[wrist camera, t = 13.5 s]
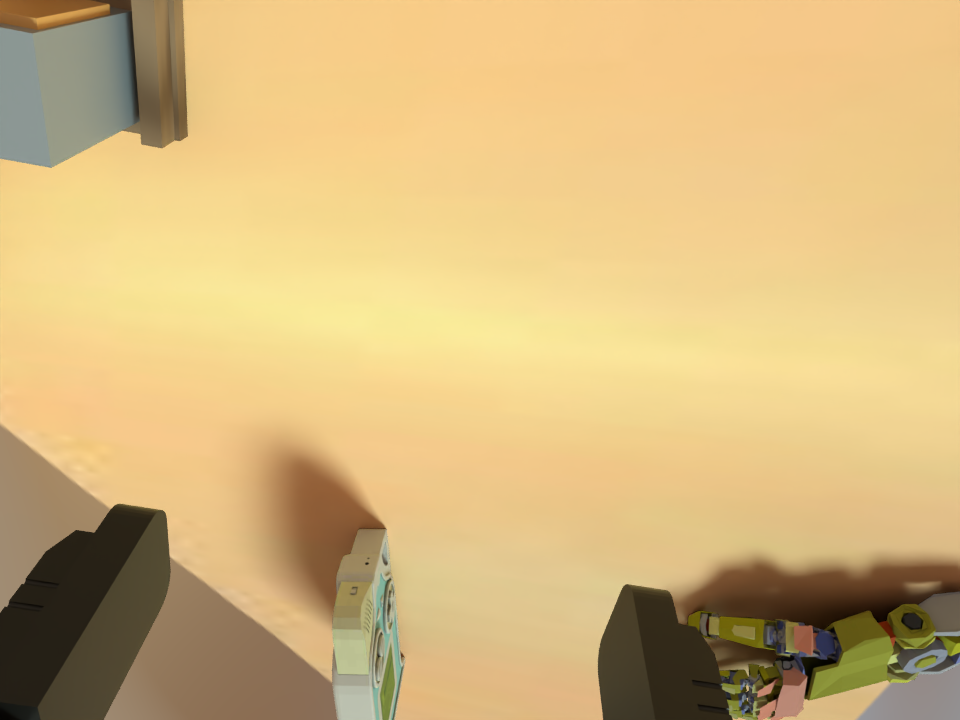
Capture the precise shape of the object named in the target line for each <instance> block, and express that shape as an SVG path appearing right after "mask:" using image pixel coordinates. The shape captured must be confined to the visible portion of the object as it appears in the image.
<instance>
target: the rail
mask: <svg viewBox="0 0 960 720" xmlns="http://www.w3.org/2000/svg"><path fill="white" fill-rule="evenodd" d="M91 1H96V2H101V3H107V4H109V5H110V7H115V8H120V9H125V10H130V11H132V20H133V34H134V48H135V62H136V76H137V90H138V103H139V117H140V121H139V122H137V123H135V124H134V125H132V126H130V127H128V128H126V129H124V130H122V131H127V132H133V133H138V134H141V144H142V145H148V146H153V147H158V148H163V147H165V146H167V145H168V144H170V143H171V142H173V141H174V140H176V141H181V140H182V139H184V138H186V137H187V136H188V132H187V106H186V79H185V53H184V27H183V1H182V0H91Z"/></svg>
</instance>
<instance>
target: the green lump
mask: <svg viewBox="0 0 960 720" xmlns="http://www.w3.org/2000/svg"><path fill="white" fill-rule="evenodd" d="M712 613H713V614H712ZM711 615H712V617H711ZM688 626H695V627H696V628H697V629H698V631H699V632H700V634H701V635H702V637H705V638H709V639H716V635H719V638H723V639H726V640H730V641H734V642H737V643H741V644H745V645H748V646H752V647H756V648H765V649H771V650H775V651H776V655H781V656H782V657H780V658H777V659H776V660H775V662H774V663H773V666H772V667H768V668H764V666H760V667H759V665H754V664H749V677H748V676H747V674H746V672H745V670H723V671H719V672H720V676H721V680H722V683H723V685H722V689H723V690H725V694H726V698H727V701H728V705H729V715H731V716H732V717H733V718H735V719H738V718H737V717H740V718H743V719H746V720H762V719H765V718H767V719H771V720H780V719H782V718H783V717H789V716H794V717H796V716H797V715H798V714H799V713H800V712H801V711H802V710H803V709H804V708H803V702H804V699H807V700H813V699H817V698H821V697H825V696H829V695H833V694H837V693H841V692H845V691H849V690H852V689H856V688H860V687H864V686H867V685H871V684H875V683H879V682H882V681H886V680H888V681H889V682H902V683H905V682H906V683H907V682H909V681H910V680H915V678H916V677H917V675H918V674H942V673H943V672H945V671H947V670H949V669H951V668H953V667H955V666H957V665H959V664H960V592H950V593H941V594H933V595H932V596H930V597H929V598H927V599H926V600H924V601H923V602H921V603H920V604H918V605H917V604H902V605H901V606H899V607H898V608H896V609H895V610H893V611H892V612H890V613H888V618H887V621H884V622H880V623H878V622H877V621H876V620H875V619H874V618H873V616H872V613H871V611H865V612H862V613H859V614H856V615H853V616H850V617H848V618H845V619H842V620H839V621H836V622H833V623H832V624H830V625H829V626H828V627H827V628H826V629H824V630H822V629H818V628H815V627H813V626H812V625H809V626H805V623H801V622H796V623H794V622H789V621H788V620H781V619H774V621H770V620H763V619H754V618H747V617H723V616H720V618H719V617H718V613H714V612H706V611H698V612H695V613H693V614H690V615H689V617H688ZM710 636H711V638H710ZM759 674H760V675H759ZM726 678H729V679H726ZM746 678H747V679H746ZM747 683H748V686H749V691H747V690H746V685H747ZM746 691H747V692H746ZM747 698H748V701H747ZM775 710H776V712H775Z"/></svg>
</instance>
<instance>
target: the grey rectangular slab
mask: <svg viewBox="0 0 960 720" xmlns="http://www.w3.org/2000/svg"><path fill="white" fill-rule="evenodd" d="M336 590H337V597H336V601H335V605H334V612H333V626H332V631H333V643H334V649H333V663H332V685H333V693H334V699H335V706H336V713H337V720H395V716H396V711H397V705H398V699H399V694H400V688H401V682H402V677H403V671H404V665H405V657H401V654H400V643H399V631H398V620H397V609H396V597H395V587H394V581H393V577H392V576H391V569H390V558H389V547H388V536H387V529H359V530H358V532H357V535H356V538H355V541H354V544H353V547H352V550H351V553H350V554H348V555H345V556H343V558H342V561H341V564H340V567H339V569H338V572H337V577H336Z"/></svg>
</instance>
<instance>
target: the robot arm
mask: <svg viewBox="0 0 960 720" xmlns="http://www.w3.org/2000/svg"><path fill="white" fill-rule="evenodd" d="M169 581H170V557H169V543H168V529H167V518H166V513H165V512H164V511H163V510H157V509H150V508H144V507H137V506H131V505H125V504H117V505H115V506H114V507H113V508H112V509H111V510H110V511H109V513H108V514H107V515H106V517H105V518H104V520H103V521H102V523H101V524H100V526H99V527H98V529H97V530H96V532H95V533H92V532H85V531H79V530H76V531H74V532H73V533H71V534H70V535H69V536H67V537H66V538H65V539H63V540H62V541H60V542H59V543H57V544H56V545H55V546H53V547H52V548H50V549H49V550H48V551H46V552H45V554H44V555H43V556H42V558H41V559H40V560H39V562H38V563H37V564H36V566H35V567H34V568H33V570H32V571H31V573H30V574H29V575H28V576H27V578H26V581H25V583H24V584H21V586H20V587H19V589H18V590H17V591H16V593H15V594H14V595H13V596H12V598H11V599H10V601H9V605H8V606H7V607H4V609H3V610H2V611H1V613H0V720H104V718H105V716H106V714H107V712H108V710H109V708H110V706H111V704H112V702H113V700H114V699H115V697H116V695H117V693H118V691H119V689H120V687H121V685H122V683H123V681H124V679H125V677H126V675H127V673H128V671H129V669H130V667H131V666H132V664H133V662H134V660H135V658H136V656H137V654H138V652H139V650H140V648H141V646H142V644H143V642H144V640H145V638H146V636H147V635H148V633H149V631H150V629H151V627H152V625H153V623H154V621H155V619H156V617H157V615H158V613H159V611H160V609H161V607H162V605H163V603H164V600H165V597H166V594H167V590H168V586H169ZM598 677H599V686H600V694H601V703H602V712H603V720H732V716H731V715H729V705H728V701H727V698H726V694H725V690H723V689H722V685H723V683H722V680H721V676H720V672H719V669H718V665H717V661H716V658H715V654H714V653H713V651H712V650H711V648H710V647H709V645H708V644H707V642H706V641H705V639H704V638H703V637H702V635H701V634H700V632H699V631H698V629H697V628H696V627H695V626H688V625H682V624H678V620H677V615H676V611H675V607H674V603H673V599H672V596H671V594H670V593H669V592H668V591H666V590H660V589H654V588H648V587H641V586H635V585H628V584H626V585H625V586H624V587H623V588H622V590H621V592H620V595H619V597H618V600H617V602H616V605H615V607H614V610H613V612H612V614H611V617H610V619H609V622H608V624H607V627H606V629H605V632H604V634H603V637H602V639H601V643H600V648H599V656H598Z"/></svg>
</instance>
